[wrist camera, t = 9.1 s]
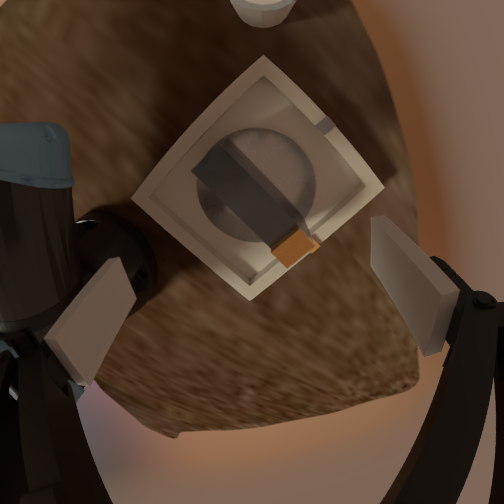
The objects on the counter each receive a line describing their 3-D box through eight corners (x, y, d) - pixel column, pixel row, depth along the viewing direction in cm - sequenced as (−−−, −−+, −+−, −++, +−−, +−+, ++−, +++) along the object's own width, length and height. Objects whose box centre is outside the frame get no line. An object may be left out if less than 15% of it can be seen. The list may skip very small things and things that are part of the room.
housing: (250, 285, 37) (249, 303, 33) (142, 190, 31) (128, 199, 28) (373, 180, 30) (386, 188, 26) (263, 61, 25) (263, 53, 21)
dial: (175, 185, 29) (147, 208, 21) (258, 103, 25) (257, 96, 17) (254, 259, 32) (251, 302, 25) (337, 190, 28) (361, 215, 21)
